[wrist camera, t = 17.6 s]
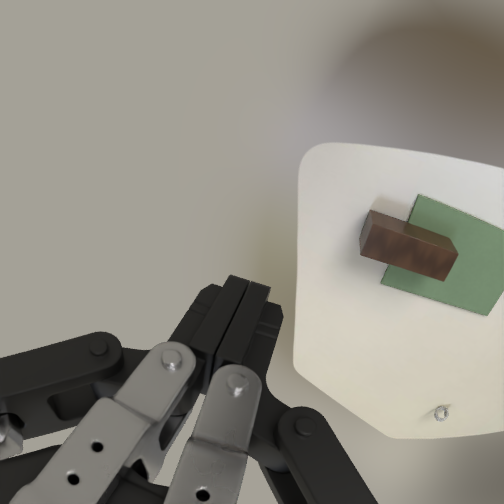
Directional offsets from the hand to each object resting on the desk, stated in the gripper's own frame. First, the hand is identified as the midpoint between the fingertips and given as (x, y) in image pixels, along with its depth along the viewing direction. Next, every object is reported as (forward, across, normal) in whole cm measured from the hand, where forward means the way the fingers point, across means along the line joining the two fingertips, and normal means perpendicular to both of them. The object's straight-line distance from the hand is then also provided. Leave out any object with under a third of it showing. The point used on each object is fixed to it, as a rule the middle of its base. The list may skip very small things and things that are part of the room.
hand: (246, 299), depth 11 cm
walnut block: (+32, -17, +10) cm, 37 cm away
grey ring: (+35, -49, +49) cm, 78 cm away
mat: (+35, -28, +11) cm, 46 cm away
